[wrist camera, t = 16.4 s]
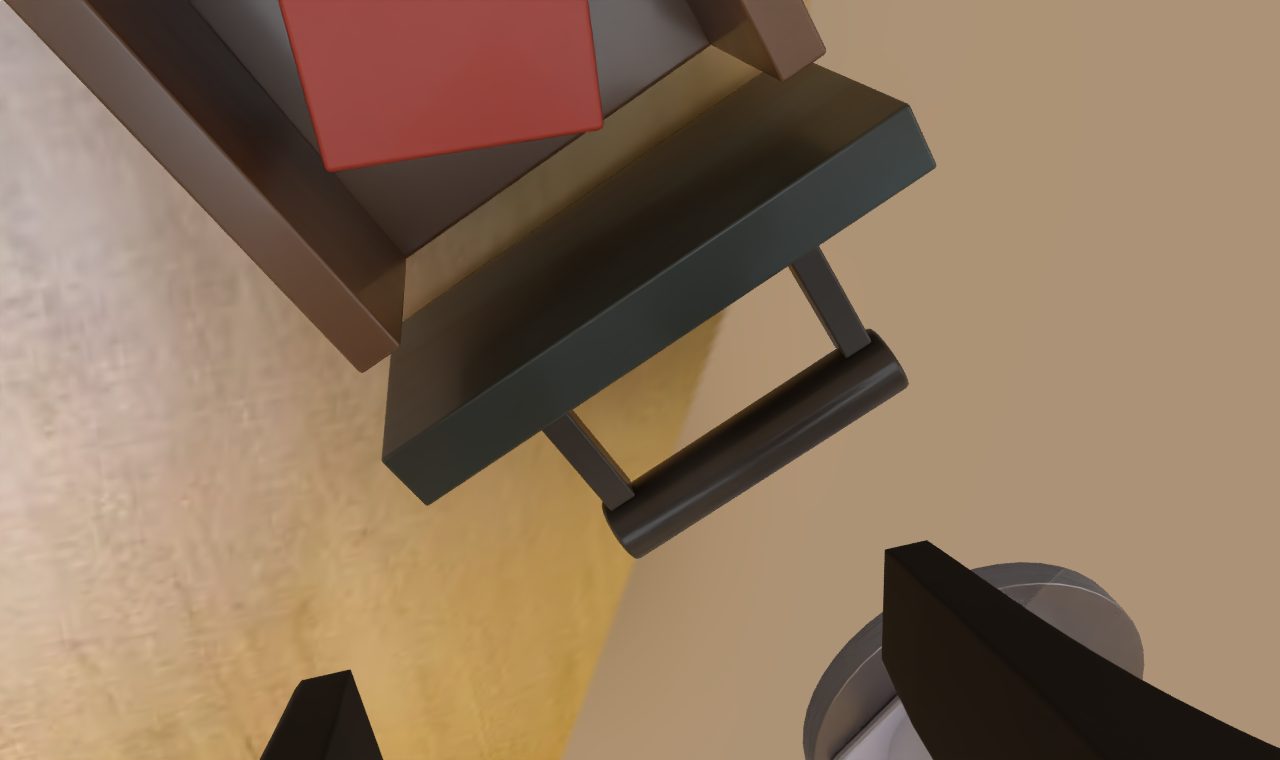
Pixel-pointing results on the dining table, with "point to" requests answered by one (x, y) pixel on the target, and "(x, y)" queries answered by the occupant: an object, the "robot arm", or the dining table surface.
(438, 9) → the block
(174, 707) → the dining table surface
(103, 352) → the dining table surface
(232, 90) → the drawer
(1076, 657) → the robot arm
